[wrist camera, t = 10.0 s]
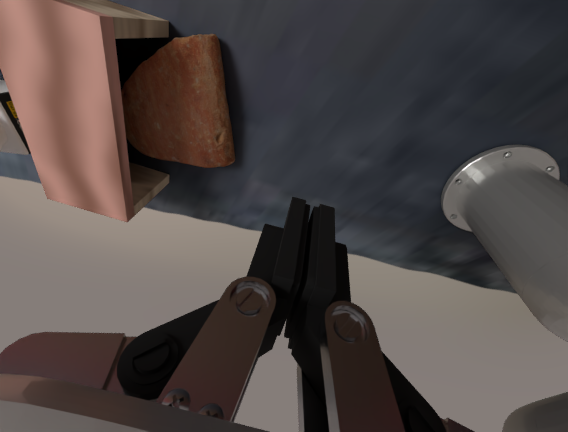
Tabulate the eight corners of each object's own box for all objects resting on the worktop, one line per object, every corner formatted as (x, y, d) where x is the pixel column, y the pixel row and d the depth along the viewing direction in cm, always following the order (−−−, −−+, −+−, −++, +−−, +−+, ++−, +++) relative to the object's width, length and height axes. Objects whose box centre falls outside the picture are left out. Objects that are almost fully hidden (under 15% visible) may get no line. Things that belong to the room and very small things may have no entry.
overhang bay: (168, 20, 28) (99, 15, 19) (169, 182, 40) (127, 222, 32) (77, -10, 27) (-35, -29, 19) (106, 163, 40) (47, 198, 31)
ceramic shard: (65, 31, 25) (216, 31, 25) (105, 40, 31) (228, 40, 31) (112, 174, 32) (231, 173, 32) (138, 160, 38) (239, 159, 38)
